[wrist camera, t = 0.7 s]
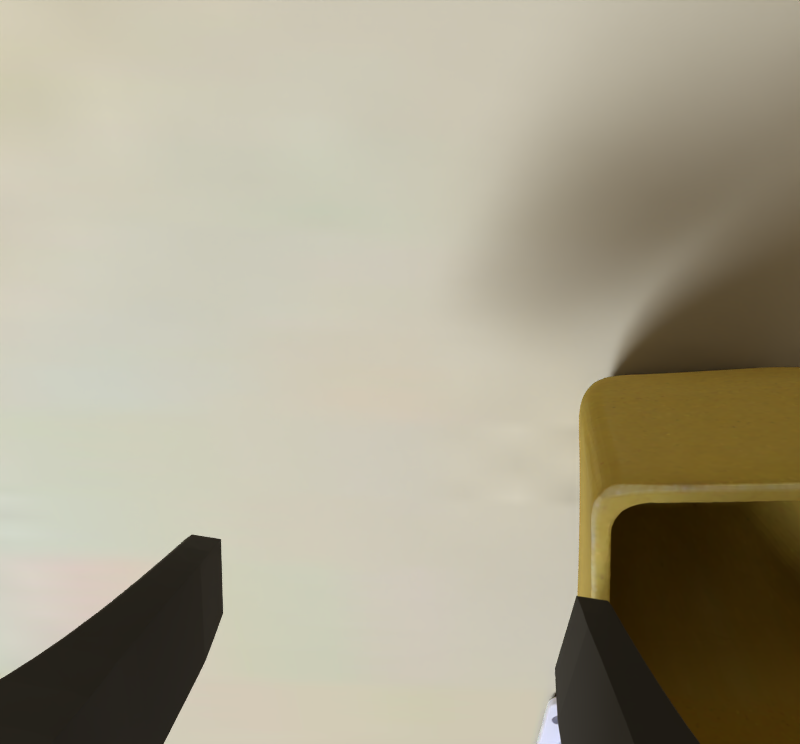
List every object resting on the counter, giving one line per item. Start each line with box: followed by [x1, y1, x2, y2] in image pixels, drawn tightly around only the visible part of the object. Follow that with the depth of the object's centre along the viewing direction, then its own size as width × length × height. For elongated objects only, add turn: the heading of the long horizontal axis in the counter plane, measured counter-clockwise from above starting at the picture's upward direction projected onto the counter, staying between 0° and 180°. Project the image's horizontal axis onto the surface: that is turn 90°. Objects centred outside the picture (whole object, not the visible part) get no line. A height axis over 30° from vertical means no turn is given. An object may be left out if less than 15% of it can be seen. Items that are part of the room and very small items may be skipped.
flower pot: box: [578, 367, 800, 744], centre depth 18 cm, size 9×9×9 cm
